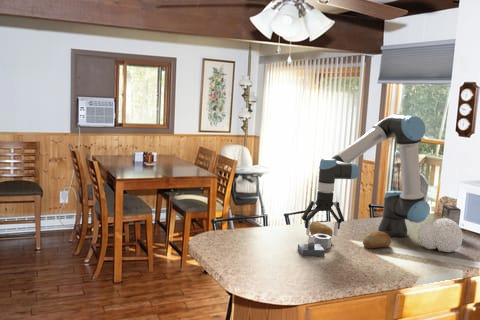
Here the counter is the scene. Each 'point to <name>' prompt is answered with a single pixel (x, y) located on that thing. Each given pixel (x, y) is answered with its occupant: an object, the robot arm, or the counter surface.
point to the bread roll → (376, 239)
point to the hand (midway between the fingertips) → (321, 235)
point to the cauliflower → (441, 235)
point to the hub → (323, 240)
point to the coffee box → (451, 213)
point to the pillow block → (311, 248)
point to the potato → (320, 229)
